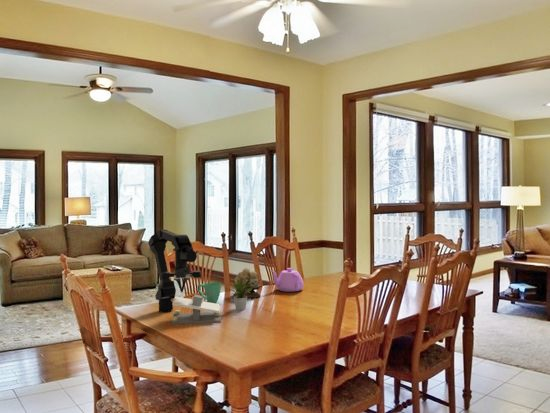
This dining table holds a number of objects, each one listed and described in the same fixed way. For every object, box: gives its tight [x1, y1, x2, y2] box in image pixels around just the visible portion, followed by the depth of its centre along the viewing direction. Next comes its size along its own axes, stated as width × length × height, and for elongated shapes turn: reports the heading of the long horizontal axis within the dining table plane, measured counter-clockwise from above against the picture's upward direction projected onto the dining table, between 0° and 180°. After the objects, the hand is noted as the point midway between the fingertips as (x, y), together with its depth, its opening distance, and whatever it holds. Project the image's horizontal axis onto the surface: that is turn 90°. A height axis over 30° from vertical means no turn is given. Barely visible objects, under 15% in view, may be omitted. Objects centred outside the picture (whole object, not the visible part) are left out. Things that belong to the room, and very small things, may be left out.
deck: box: [172, 294, 220, 313], centre depth 231 cm, size 22×14×5 cm, turn 97°
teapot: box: [271, 267, 304, 293], centre depth 297 cm, size 22×22×14 cm
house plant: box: [229, 278, 254, 311], centre depth 250 cm, size 14×14×16 cm
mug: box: [197, 282, 222, 304], centre depth 269 cm, size 15×10×10 cm
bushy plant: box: [233, 267, 262, 300], centre depth 281 cm, size 18×12×17 cm, turn 64°
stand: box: [170, 309, 222, 325], centre depth 231 cm, size 23×16×6 cm
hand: (181, 292), depth 235 cm, fingers closed
